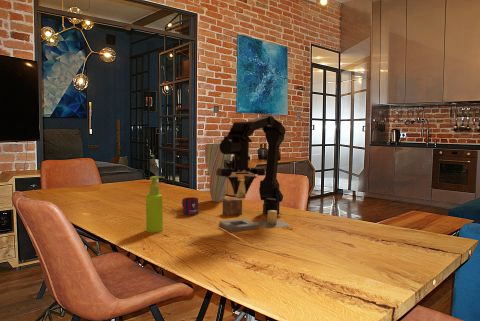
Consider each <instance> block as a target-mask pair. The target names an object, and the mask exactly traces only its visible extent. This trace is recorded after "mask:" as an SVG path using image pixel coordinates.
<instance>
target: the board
mask: <svg viewBox="0 0 480 321" xmlns="http://www.w3.org/2000/svg"><path fill="white" fill-rule="evenodd" d="M253 223H256V224H258V226H261V227H263V228H265V229H275V228H283V227H284V228H285V227H292V224H289V223H287V222H284V221H282V220H279V219H278V214H277V211H276V210H268V215H267V220H261V221H253Z"/></svg>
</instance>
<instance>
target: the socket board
mask: <svg viewBox="0 0 480 321" xmlns="http://www.w3.org/2000/svg"><path fill="white" fill-rule="evenodd" d="M218 225H219V226H218V227H220V228H221V229H223V230H225V231H227V232H228V233H230V234H232V232H243V231H249V230H256V229H259V225H258V224H256V223H254V221H251V220H249V219H247V218H239V219H228V220H219V221H218Z"/></svg>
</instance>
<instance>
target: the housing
mask: <svg viewBox="0 0 480 321" xmlns="http://www.w3.org/2000/svg"><path fill="white" fill-rule="evenodd" d="M222 215H224V216H226V217H231V216H233V217H234V216H241V215H243V199H239V198H235V196H234V197H225V198H223V201H222Z"/></svg>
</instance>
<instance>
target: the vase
mask: <svg viewBox="0 0 480 321" xmlns="http://www.w3.org/2000/svg"><path fill="white" fill-rule="evenodd" d="M220 143H221V142H217V143H216V142H214V143H206V144H204V157H205V158H204V159H205V164H206V165H205V166H206V168H207V172H208V176H209V193H210V198H211V200H210V201H212V202H217V203H219V202H223V198H226V192H227V180H228V178H227V177H225V176H218V175H216V171H217V169H218V168H224V160H230V161H232V154H223V153H222V152H221V151H220V148H219V145H220Z"/></svg>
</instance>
